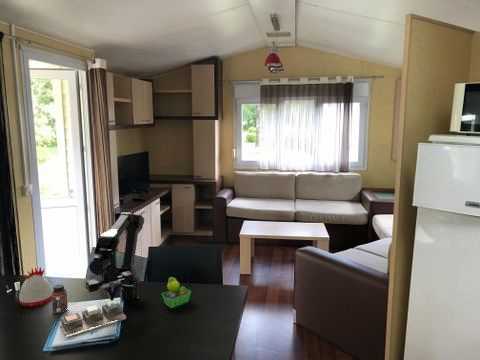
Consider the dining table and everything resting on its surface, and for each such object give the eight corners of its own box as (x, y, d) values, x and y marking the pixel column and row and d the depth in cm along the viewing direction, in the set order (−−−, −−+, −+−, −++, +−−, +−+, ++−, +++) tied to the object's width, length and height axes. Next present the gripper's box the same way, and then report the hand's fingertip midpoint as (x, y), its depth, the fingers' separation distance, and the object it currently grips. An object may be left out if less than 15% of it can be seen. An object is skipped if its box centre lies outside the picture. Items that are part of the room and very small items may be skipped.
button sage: (115, 305, 162) (115, 299, 161) (118, 309, 159) (118, 303, 158) (105, 308, 160) (105, 302, 159) (109, 312, 156) (108, 305, 156)
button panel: (116, 307, 166) (115, 298, 166) (126, 318, 157) (125, 309, 156) (59, 324, 153) (58, 314, 152) (66, 337, 143) (65, 327, 143)
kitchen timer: (55, 300, 174) (53, 269, 171) (21, 309, 166) (17, 276, 164) (50, 289, 185) (48, 260, 183) (18, 297, 177) (15, 266, 175)
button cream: (96, 311, 157) (95, 305, 157) (99, 315, 154) (98, 308, 154) (86, 314, 155) (85, 307, 154) (89, 318, 152) (88, 311, 151)
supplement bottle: (61, 314, 160) (59, 289, 159) (49, 313, 162) (47, 288, 160) (70, 308, 166) (69, 283, 165) (58, 306, 167) (56, 282, 166)
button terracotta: (76, 320, 153) (75, 313, 152) (78, 324, 149) (78, 318, 149) (65, 323, 150) (64, 317, 150) (67, 327, 147) (67, 321, 147)
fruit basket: (170, 310, 164) (169, 285, 162) (159, 303, 170) (158, 279, 169) (192, 302, 171) (191, 278, 169) (181, 295, 178) (180, 272, 176)
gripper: (124, 254, 168) (126, 287, 171) (80, 264, 157) (83, 299, 159) (134, 261, 159) (136, 296, 162) (88, 272, 148) (90, 310, 151)
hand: (111, 300), depth 159 cm, fingers closed
